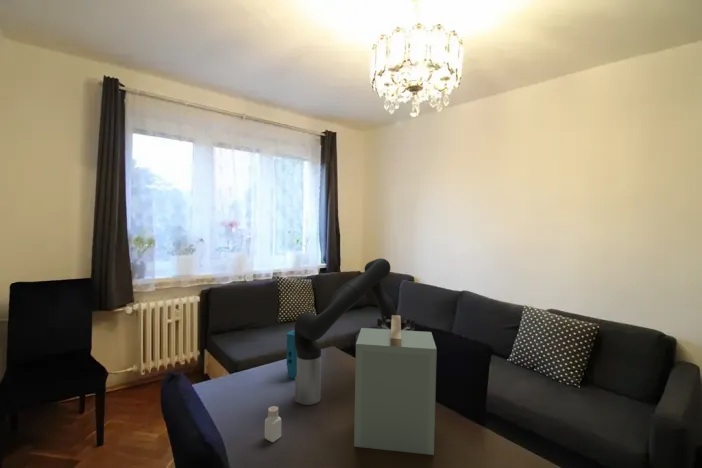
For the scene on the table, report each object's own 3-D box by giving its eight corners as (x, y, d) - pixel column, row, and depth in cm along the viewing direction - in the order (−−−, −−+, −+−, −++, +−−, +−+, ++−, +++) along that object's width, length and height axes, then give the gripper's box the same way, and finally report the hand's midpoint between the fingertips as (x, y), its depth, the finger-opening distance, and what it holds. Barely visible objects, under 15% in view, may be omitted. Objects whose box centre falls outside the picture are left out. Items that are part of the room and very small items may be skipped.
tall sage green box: (354, 446, 105) (355, 343, 104) (359, 417, 121) (361, 327, 120) (433, 455, 102) (436, 349, 101) (428, 423, 118) (431, 332, 117)
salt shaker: (263, 438, 108) (264, 409, 108) (273, 432, 112) (273, 404, 111) (272, 443, 106) (273, 413, 106) (282, 437, 109) (282, 407, 109)
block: (294, 381, 148) (295, 335, 147) (285, 378, 150) (285, 333, 149) (310, 370, 158) (311, 328, 158) (301, 368, 161) (302, 326, 160)
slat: (390, 346, 103) (390, 338, 103) (391, 321, 129) (391, 315, 129) (401, 346, 102) (401, 338, 102) (400, 321, 128) (400, 315, 128)
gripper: (378, 320, 140) (376, 308, 125) (413, 322, 138) (416, 310, 123) (377, 338, 136) (375, 329, 122) (413, 341, 134) (416, 332, 120)
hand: (396, 320), depth 123 cm, fingers open, 7 cm apart
